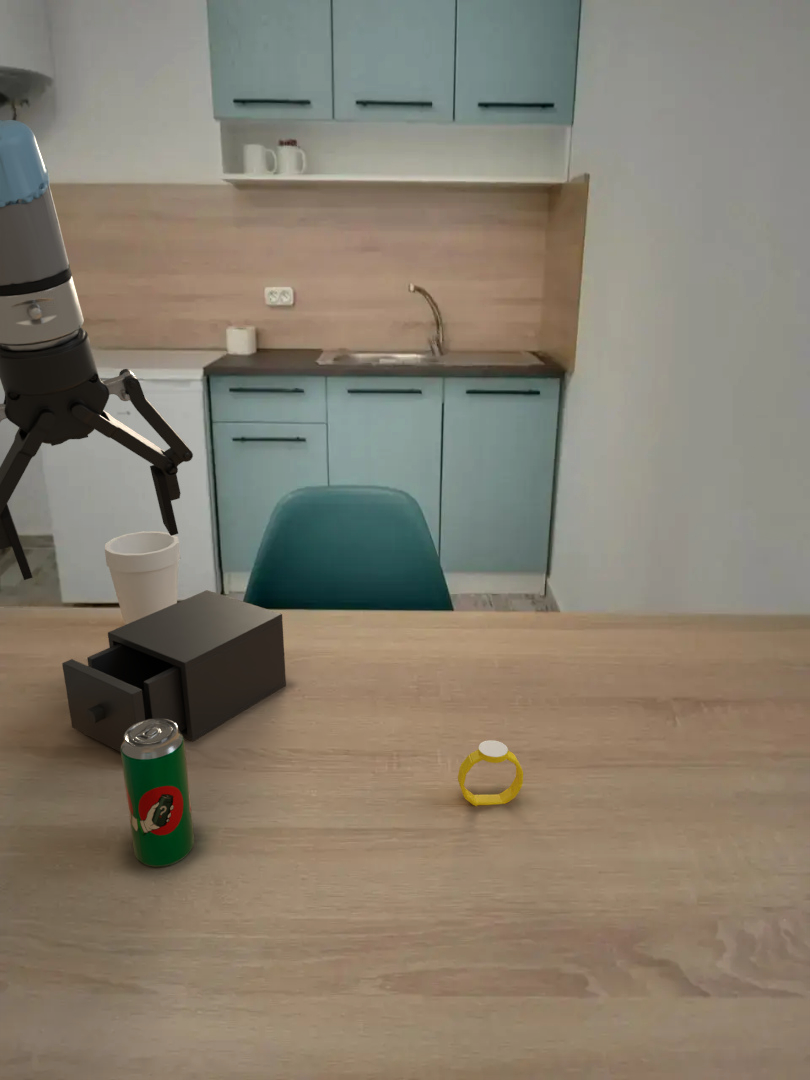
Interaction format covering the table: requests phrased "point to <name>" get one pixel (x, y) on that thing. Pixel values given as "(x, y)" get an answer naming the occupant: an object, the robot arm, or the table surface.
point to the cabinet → (213, 654)
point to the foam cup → (144, 572)
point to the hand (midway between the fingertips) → (101, 549)
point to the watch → (493, 754)
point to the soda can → (157, 792)
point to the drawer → (122, 693)
